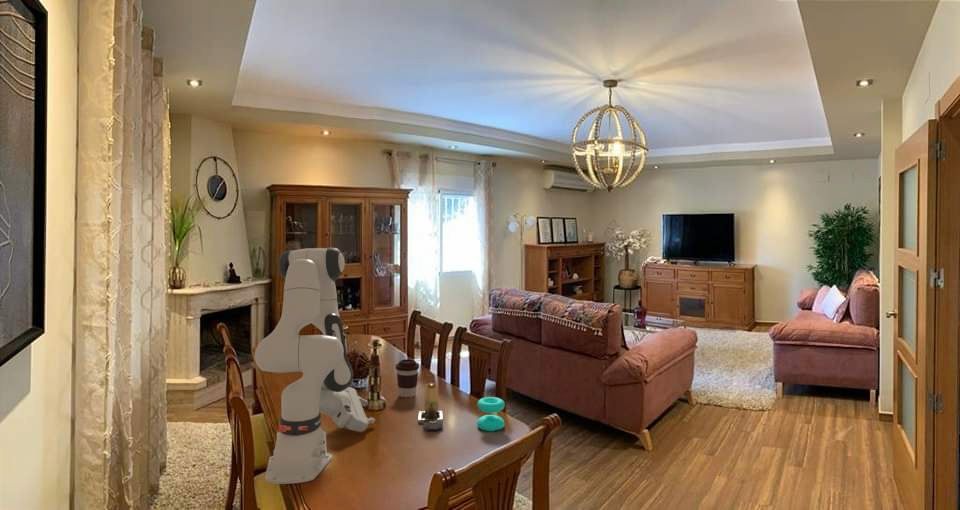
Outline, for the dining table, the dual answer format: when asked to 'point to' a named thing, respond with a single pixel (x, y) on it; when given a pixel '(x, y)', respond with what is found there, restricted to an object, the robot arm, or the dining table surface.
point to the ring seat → (422, 413)
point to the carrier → (433, 425)
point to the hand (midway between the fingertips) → (370, 412)
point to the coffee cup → (407, 377)
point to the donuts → (491, 407)
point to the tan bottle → (431, 400)
